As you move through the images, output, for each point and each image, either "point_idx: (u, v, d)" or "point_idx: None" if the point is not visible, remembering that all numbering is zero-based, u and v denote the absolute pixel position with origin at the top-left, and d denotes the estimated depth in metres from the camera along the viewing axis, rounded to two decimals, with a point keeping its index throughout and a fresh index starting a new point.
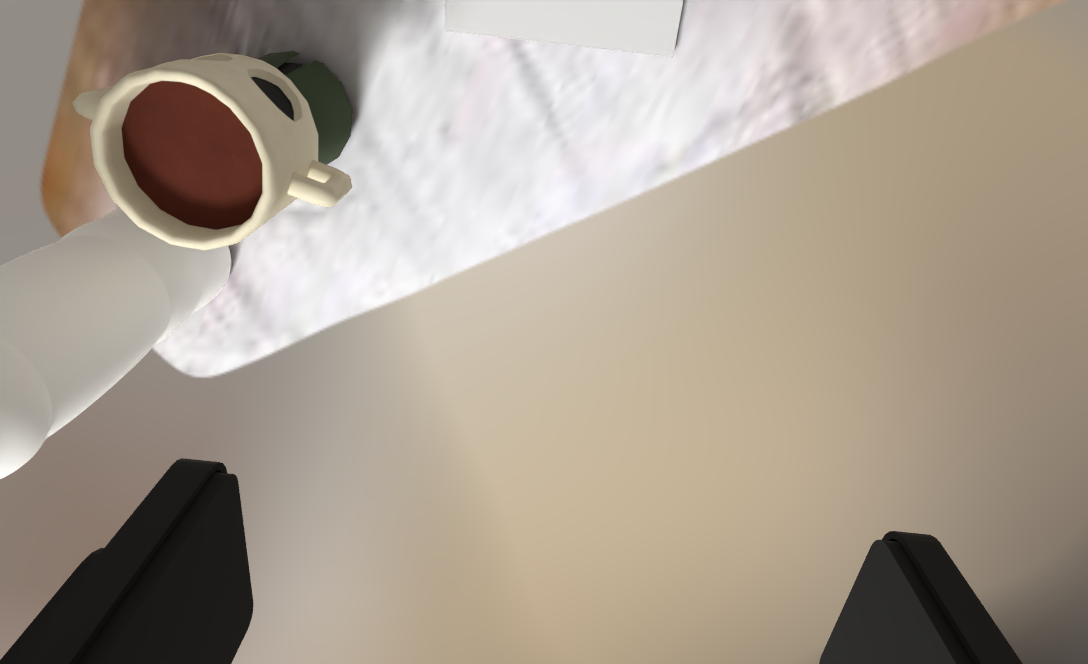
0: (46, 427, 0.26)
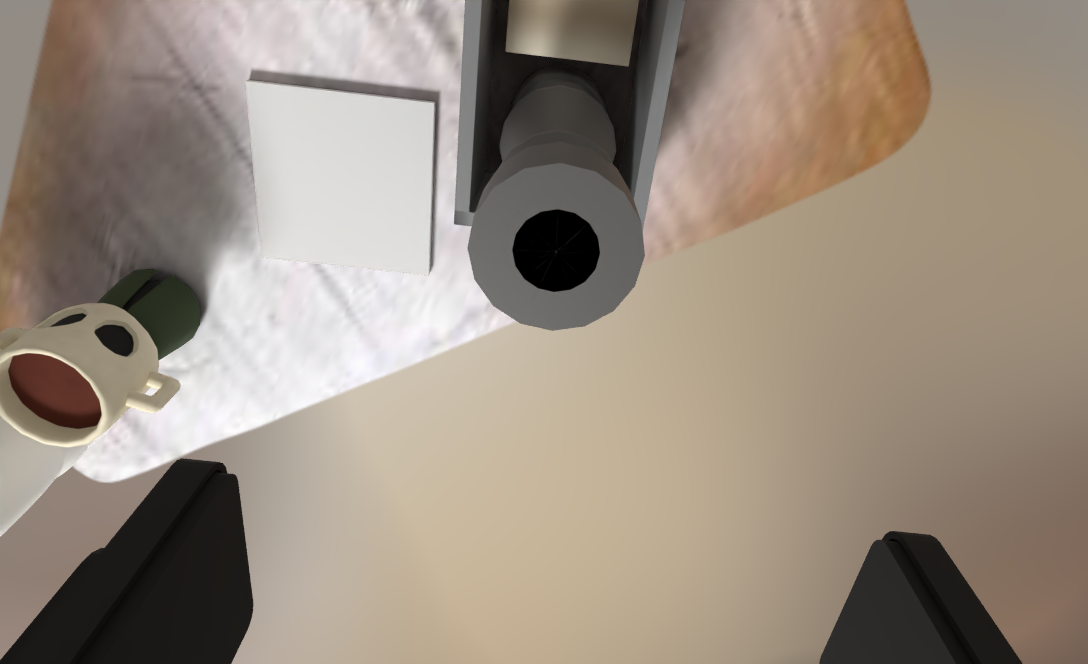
0: None
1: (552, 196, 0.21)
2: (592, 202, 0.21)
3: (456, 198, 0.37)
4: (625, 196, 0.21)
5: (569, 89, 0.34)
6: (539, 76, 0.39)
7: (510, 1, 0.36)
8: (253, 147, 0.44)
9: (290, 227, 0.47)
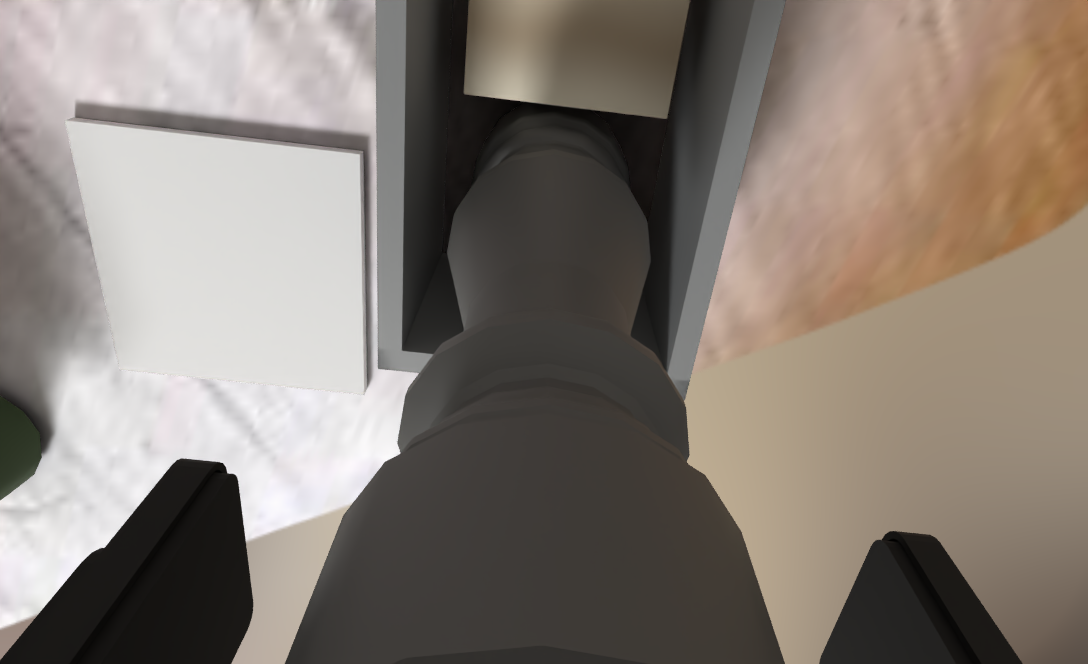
0: None
1: None
2: None
3: (379, 330, 0.22)
4: None
5: (569, 159, 0.19)
6: (520, 119, 0.24)
7: (470, 11, 0.22)
8: (89, 218, 0.29)
9: (157, 330, 0.32)
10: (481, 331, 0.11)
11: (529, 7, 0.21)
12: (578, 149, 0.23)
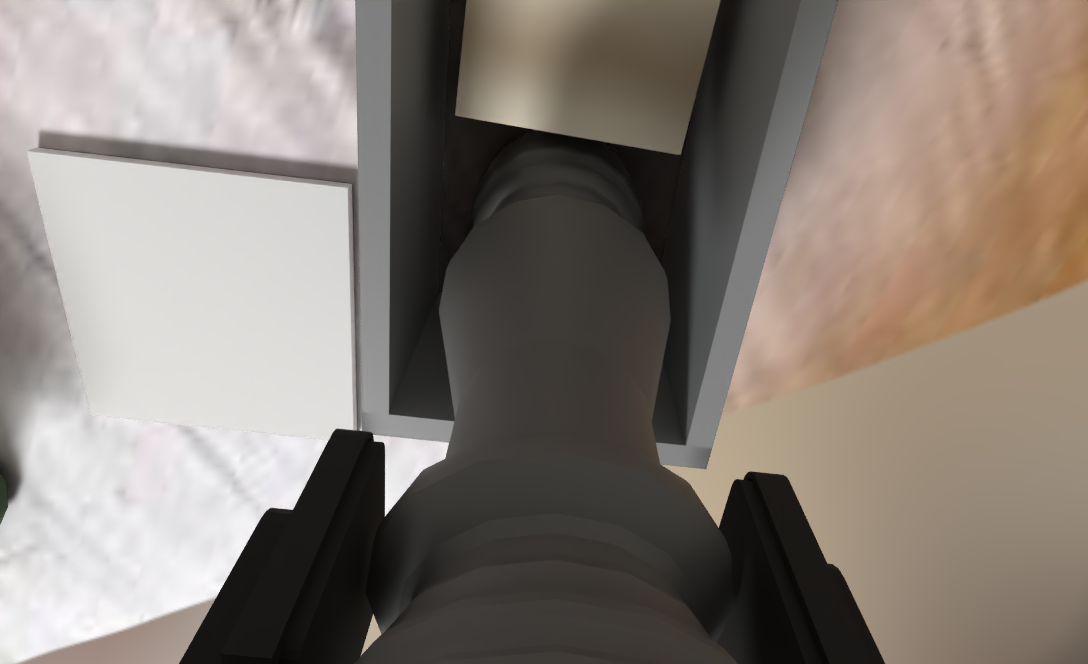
0: None
1: None
2: None
3: (363, 392, 0.20)
4: None
5: (578, 208, 0.16)
6: (522, 154, 0.22)
7: (466, 24, 0.19)
8: (55, 255, 0.27)
9: (130, 373, 0.30)
10: (469, 466, 0.08)
11: (533, 24, 0.19)
12: (587, 189, 0.20)
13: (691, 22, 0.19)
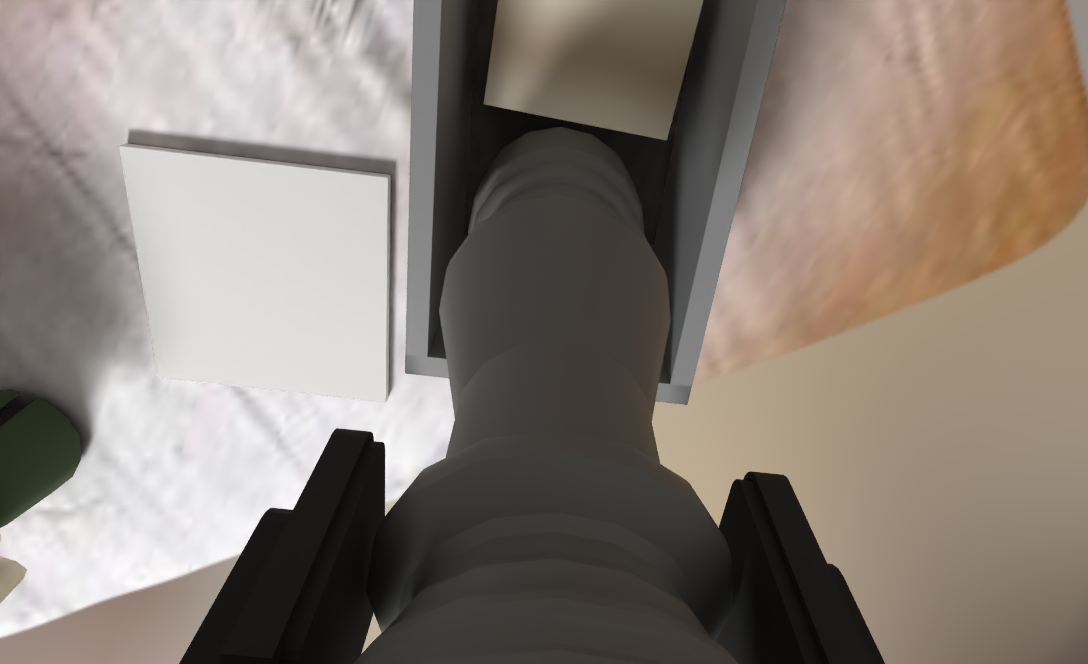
0: None
1: None
2: None
3: (407, 337, 0.24)
4: None
5: (578, 208, 0.16)
6: (522, 154, 0.22)
7: (495, 30, 0.24)
8: (136, 235, 0.32)
9: (194, 339, 0.34)
10: (470, 465, 0.08)
11: (549, 31, 0.24)
12: (587, 189, 0.20)
13: (675, 32, 0.24)
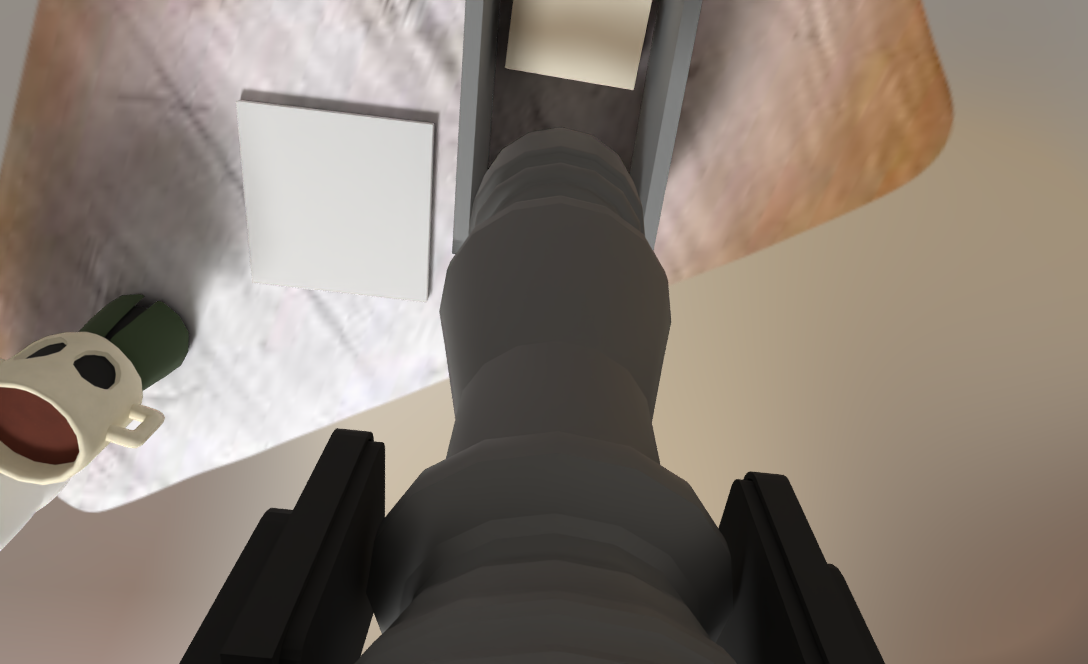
0: None
1: None
2: None
3: (454, 226, 0.35)
4: None
5: (579, 209, 0.16)
6: (523, 154, 0.22)
7: (512, 16, 0.35)
8: (244, 169, 0.43)
9: (282, 252, 0.45)
10: (470, 466, 0.08)
11: (549, 15, 0.35)
12: (587, 189, 0.20)
13: (636, 14, 0.34)
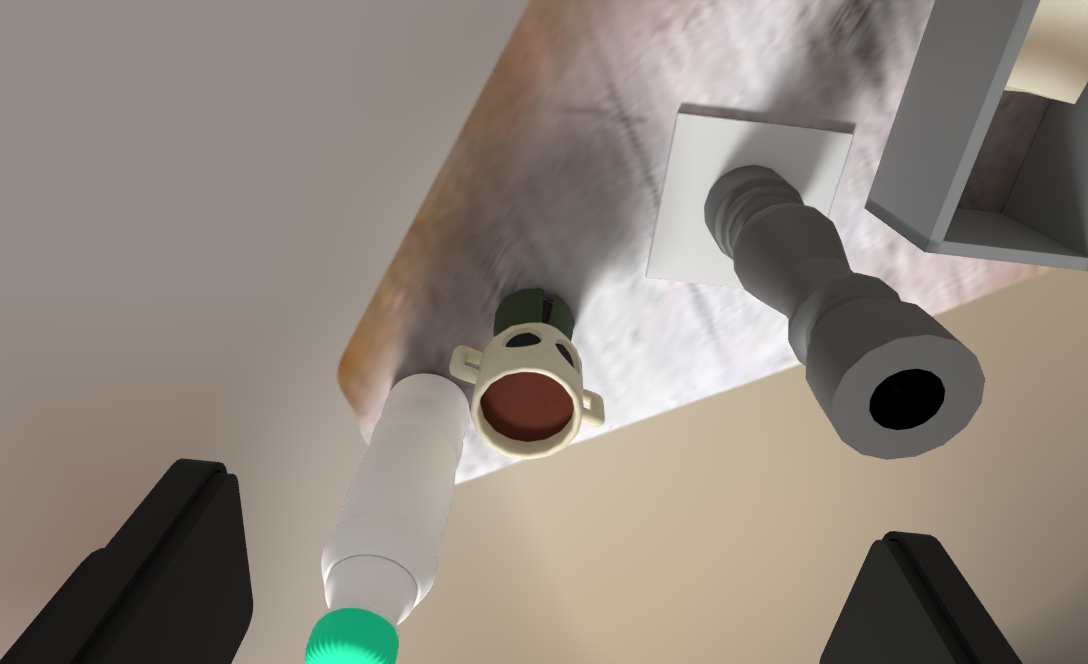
0: (435, 574, 0.42)
1: (914, 358, 0.25)
2: (947, 363, 0.25)
3: (935, 228, 0.40)
4: (976, 359, 0.25)
5: (806, 208, 0.38)
6: (748, 181, 0.44)
7: None
8: (668, 175, 0.47)
9: (682, 249, 0.49)
10: (834, 280, 0.30)
11: None
12: (787, 199, 0.42)
13: None
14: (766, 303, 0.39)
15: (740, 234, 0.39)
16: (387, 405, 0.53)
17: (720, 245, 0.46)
